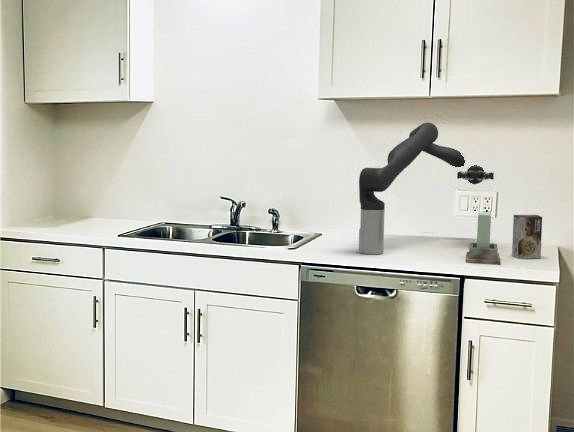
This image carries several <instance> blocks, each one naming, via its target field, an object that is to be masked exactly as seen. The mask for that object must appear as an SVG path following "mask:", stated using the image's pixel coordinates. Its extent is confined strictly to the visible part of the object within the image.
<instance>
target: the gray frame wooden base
mask: <svg viewBox="0 0 574 432" xmlns="http://www.w3.org/2000/svg"><path fill="white" fill-rule="evenodd" d="M498 248H499V247H498V244H497V243H491V242H490V249H488V248H477V242H472V241H471V242H469V249H468V251H466V253H465V254H466V255H465V263H466V264H482V265H496V264H497V265H498V266H500V265H501V257H500V253H499V251H498V250H499V249H498ZM497 265H496V266H497Z"/></svg>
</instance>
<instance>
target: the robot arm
mask: <svg viewBox="0 0 574 432" xmlns="http://www.w3.org/2000/svg"><path fill="white" fill-rule="evenodd" d="M438 138H439V130H438V127H437V126H436V125H435V123H432V122H424V123H422V124H420V125H418V126H417V127H415V128H414V129H412V130H411V131H410V133H409V135H408V137H407V138H406V139H404V140H403V141H401V142H399V143H398V144H397V145H396V146H394V147H393V149H391V150H390V151H389V153H388V155H387V164H386V165H385V166H383V167H364V168H362V169H361V171H360V173H359V177H358V186H359V187H358V193H359V197H358V199H359V203H360V221H359V222H360V223H359V224H360V226H359V227H360V228H359V230H358V254H364V255H382V254H384V248H385V247H384V244H385V243H384V239H385V237H384V236H385V212H386V211H385V202H384V201H383V200H381V199H379V198H378V197H377V196H376V195H375V193H382V192H386V191H387V189H388V188H389V187H391V185H392V184H393V182H394V181H395V180H396V178H397V177H398V176H399V175H400V174H401V173H402V172H403V171H404V170H405V169H407V167H408V166H410V165H411V164H412V163H413V161H414V160H416V158H417V157H418V156H419V155H421V153H422V152H424V153H426V154H427V155H430V156H433V157H435V158H437V159H439V160H442V161H443V162H445V163H447V164H448V165H450V166H451V165H452V166H455V167H461V166H464V163H465V160H464V157H463V156H462V155H461V153H462V152H461V151H459V150H458V149H456V148H452V147H450V146H443V145H439V144H437V143H434V142H436V141H437V139H438ZM455 149H456V150H455ZM460 152H461V153H460ZM452 166H451V167H452ZM494 176H495V173H494V172H484V170H483V168H482V167H480V166H477V165H474V166H471V167H470V168H469V167H468V168H467V169H466V170H464V171H457V174H456V178H457V179H458V180H460V179H462V180H465V181H466V180H468V181H469V182H470V183H469V182H468V183H469V184H471V183H472V184H471V185H477V184H480V183H482V182H483V181H486V180H492V181H493V180H494Z"/></svg>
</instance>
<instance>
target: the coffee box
mask: <svg viewBox="0 0 574 432" xmlns="http://www.w3.org/2000/svg"><path fill="white" fill-rule="evenodd" d="M512 221H513V222H512V223H513V224H512V242H511V243H512V245H511V247H512V249H511V256H512V257H514V258H516V259H541V257H542V232H543V231H542V230H543V216H541V215H538V214H513V220H512Z"/></svg>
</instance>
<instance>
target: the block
mask: <svg viewBox="0 0 574 432" xmlns="http://www.w3.org/2000/svg"><path fill="white" fill-rule="evenodd" d="M491 219H492V213H491V212H477V230H476V231H477V233H476V234H477V235H476V243H477V248H488V249H490V243H491V242H490V241H491V223H492V220H491Z"/></svg>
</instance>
